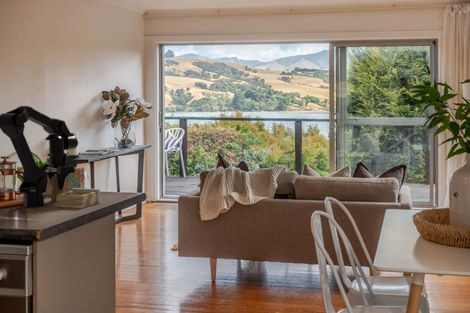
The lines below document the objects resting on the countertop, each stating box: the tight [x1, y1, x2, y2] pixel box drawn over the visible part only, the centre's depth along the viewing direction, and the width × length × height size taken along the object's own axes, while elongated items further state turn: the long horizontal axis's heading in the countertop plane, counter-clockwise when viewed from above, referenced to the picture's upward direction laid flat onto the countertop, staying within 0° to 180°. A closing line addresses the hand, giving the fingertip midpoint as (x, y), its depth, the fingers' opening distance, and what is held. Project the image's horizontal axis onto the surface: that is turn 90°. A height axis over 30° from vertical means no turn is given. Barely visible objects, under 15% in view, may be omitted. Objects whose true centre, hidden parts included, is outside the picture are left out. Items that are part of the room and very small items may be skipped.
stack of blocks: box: [42, 166, 85, 196], centre depth 253 cm, size 21×6×12 cm, turn 87°
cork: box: [50, 176, 64, 203], centre depth 231 cm, size 6×6×11 cm
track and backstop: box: [71, 187, 101, 204], centre depth 219 cm, size 19×12×6 cm, turn 164°
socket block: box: [56, 191, 98, 209], centre depth 221 cm, size 11×11×4 cm
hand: (57, 189), depth 231 cm, fingers closed on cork, 5 cm apart
